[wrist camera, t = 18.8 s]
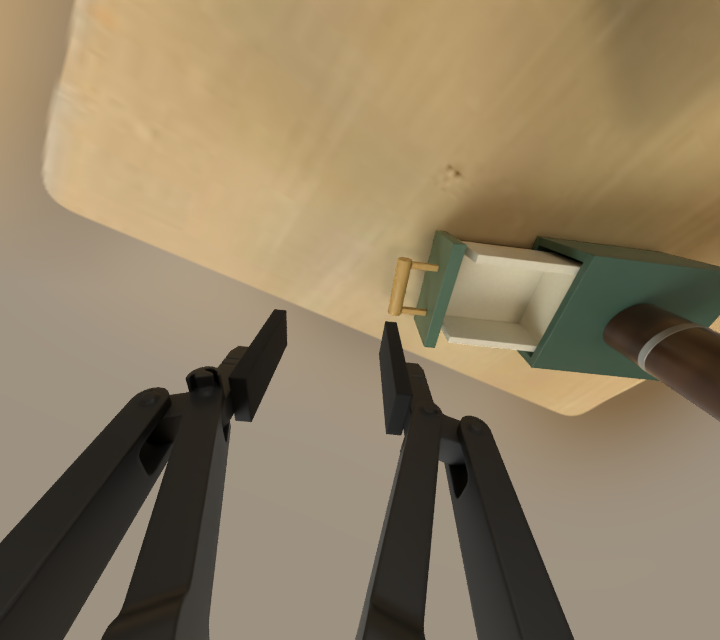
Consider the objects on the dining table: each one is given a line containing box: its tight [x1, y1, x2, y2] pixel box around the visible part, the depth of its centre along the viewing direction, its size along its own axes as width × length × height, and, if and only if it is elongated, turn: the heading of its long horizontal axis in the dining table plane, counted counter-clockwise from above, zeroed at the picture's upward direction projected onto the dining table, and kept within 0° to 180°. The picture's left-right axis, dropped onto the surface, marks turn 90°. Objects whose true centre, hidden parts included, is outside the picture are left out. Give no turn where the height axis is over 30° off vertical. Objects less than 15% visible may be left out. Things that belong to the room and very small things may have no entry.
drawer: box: [388, 231, 582, 352], centre depth 28 cm, size 18×11×6 cm, turn 83°
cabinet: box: [517, 237, 720, 381], centre depth 28 cm, size 15×12×8 cm
